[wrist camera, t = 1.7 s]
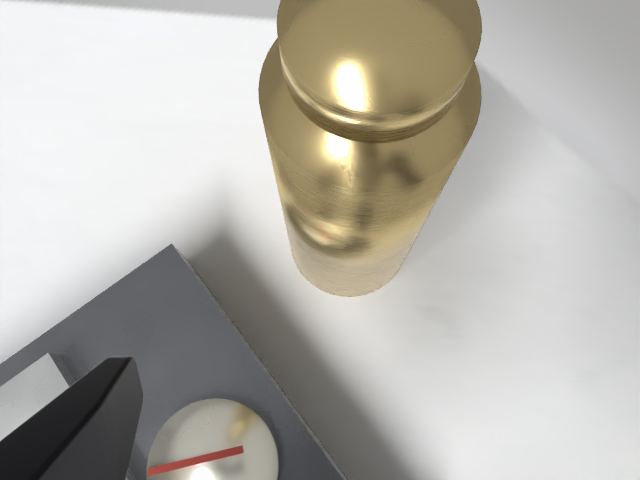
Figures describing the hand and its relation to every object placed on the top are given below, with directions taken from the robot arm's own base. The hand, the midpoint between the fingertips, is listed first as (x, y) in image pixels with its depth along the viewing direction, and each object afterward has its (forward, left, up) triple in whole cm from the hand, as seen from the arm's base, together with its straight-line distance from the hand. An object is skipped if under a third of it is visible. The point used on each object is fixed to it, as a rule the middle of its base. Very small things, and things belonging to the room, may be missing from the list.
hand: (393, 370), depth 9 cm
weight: (+5, -4, -13) cm, 14 cm away
